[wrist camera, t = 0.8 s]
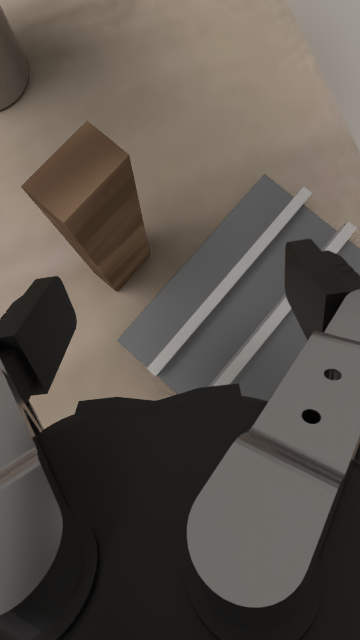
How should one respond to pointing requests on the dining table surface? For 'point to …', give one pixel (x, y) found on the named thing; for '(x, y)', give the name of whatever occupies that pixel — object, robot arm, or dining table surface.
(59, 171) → the brown wooden block
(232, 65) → the dining table surface
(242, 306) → the track plinth
